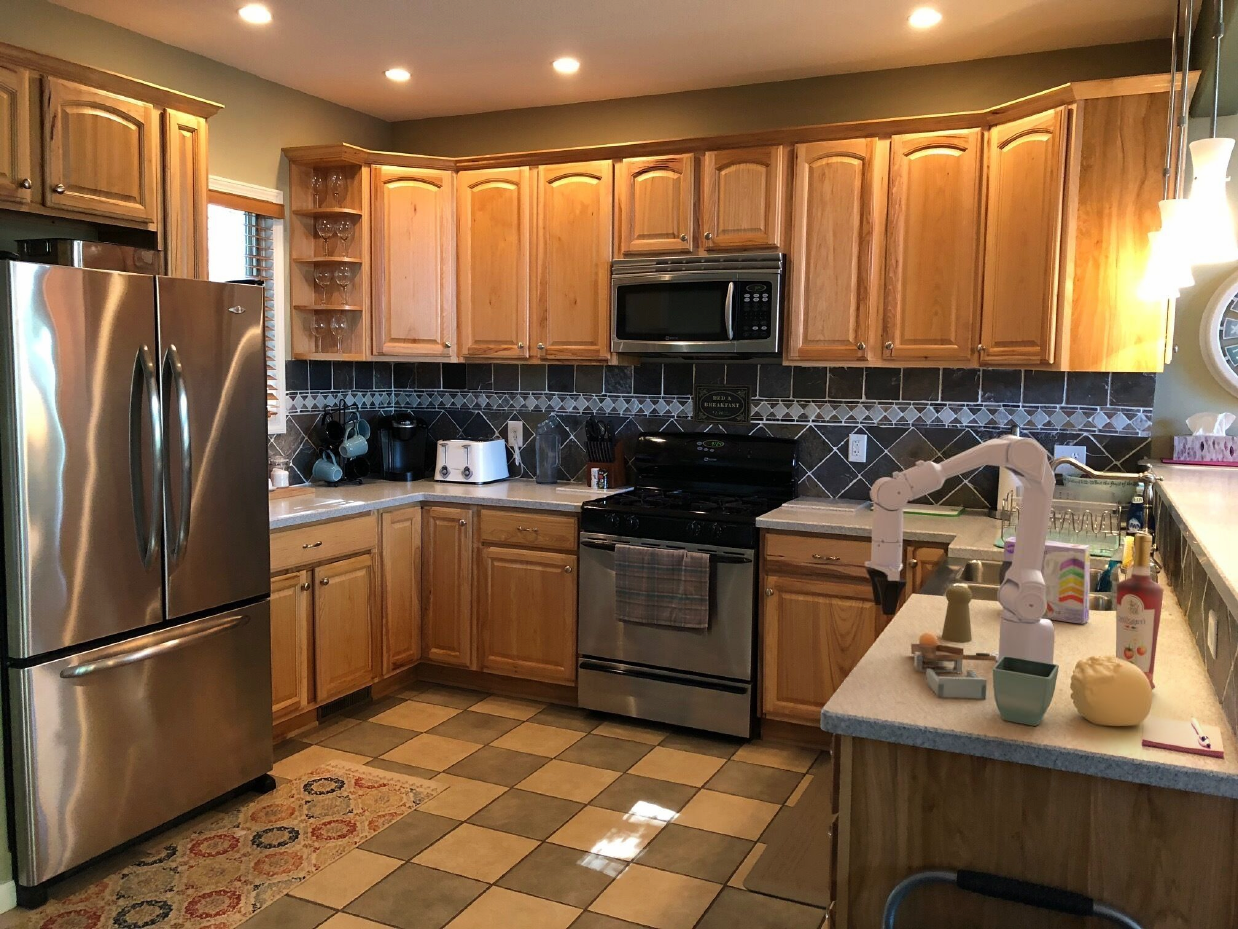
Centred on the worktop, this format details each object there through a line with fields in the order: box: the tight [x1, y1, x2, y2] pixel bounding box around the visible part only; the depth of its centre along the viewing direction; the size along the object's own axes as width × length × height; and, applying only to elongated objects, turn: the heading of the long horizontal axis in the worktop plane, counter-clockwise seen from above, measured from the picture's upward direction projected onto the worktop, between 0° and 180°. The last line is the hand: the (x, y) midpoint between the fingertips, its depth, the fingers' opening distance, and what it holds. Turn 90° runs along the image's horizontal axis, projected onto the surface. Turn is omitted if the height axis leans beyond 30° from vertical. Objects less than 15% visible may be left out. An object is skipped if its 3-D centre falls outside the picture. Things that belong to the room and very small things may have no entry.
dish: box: [925, 669, 988, 700], centre depth 175 cm, size 8×9×4 cm
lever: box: [910, 643, 996, 663], centre depth 188 cm, size 11×16×3 cm
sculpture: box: [1069, 653, 1153, 727], centre depth 161 cm, size 11×12×11 cm
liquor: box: [1115, 533, 1164, 691], centre depth 176 cm, size 7×7×28 cm
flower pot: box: [991, 656, 1060, 727], centre depth 161 cm, size 9×9×9 cm
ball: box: [918, 632, 939, 648], centre depth 194 cm, size 4×4×4 cm
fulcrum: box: [913, 652, 964, 674], centre depth 187 cm, size 8×2×3 cm, turn 87°
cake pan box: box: [998, 536, 1091, 625], centre depth 229 cm, size 19×5×18 cm, turn 49°
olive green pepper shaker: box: [941, 585, 973, 643], centre depth 209 cm, size 6×6×11 cm
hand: (884, 609), depth 192 cm, fingers open, 7 cm apart
